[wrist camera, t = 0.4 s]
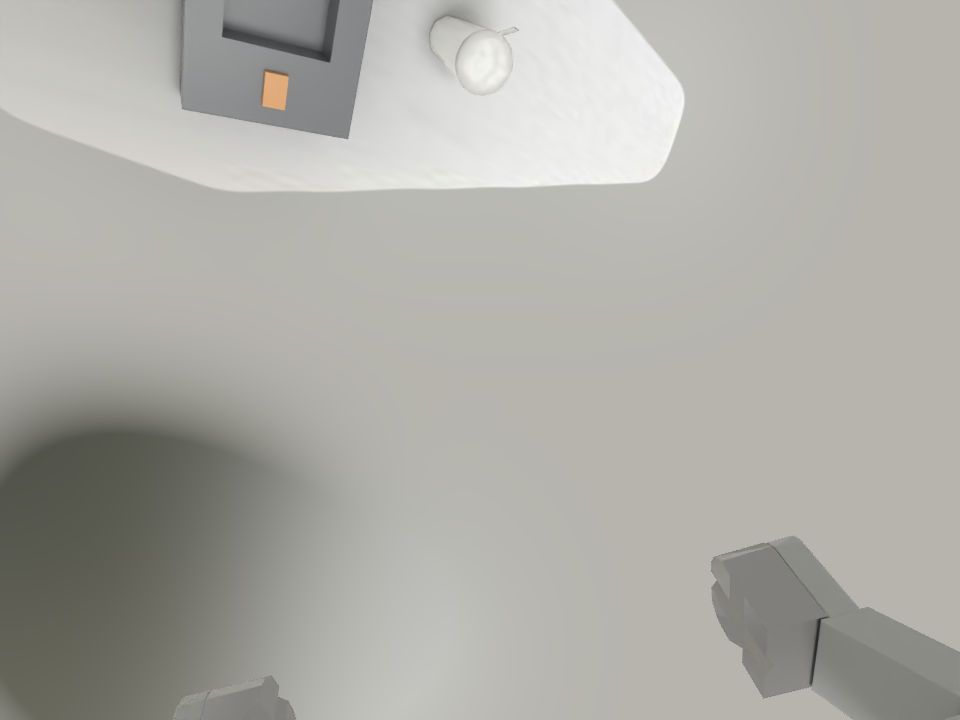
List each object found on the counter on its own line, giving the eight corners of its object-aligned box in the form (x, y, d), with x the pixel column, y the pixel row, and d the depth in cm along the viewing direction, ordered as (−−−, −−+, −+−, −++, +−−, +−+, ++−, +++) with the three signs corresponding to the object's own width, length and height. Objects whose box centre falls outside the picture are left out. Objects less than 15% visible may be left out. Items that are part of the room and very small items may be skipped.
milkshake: (486, 15, 50) (540, 44, 43) (456, 76, 52) (502, 113, 46) (442, -16, 48) (492, 11, 41) (412, 50, 50) (454, 86, 43)
